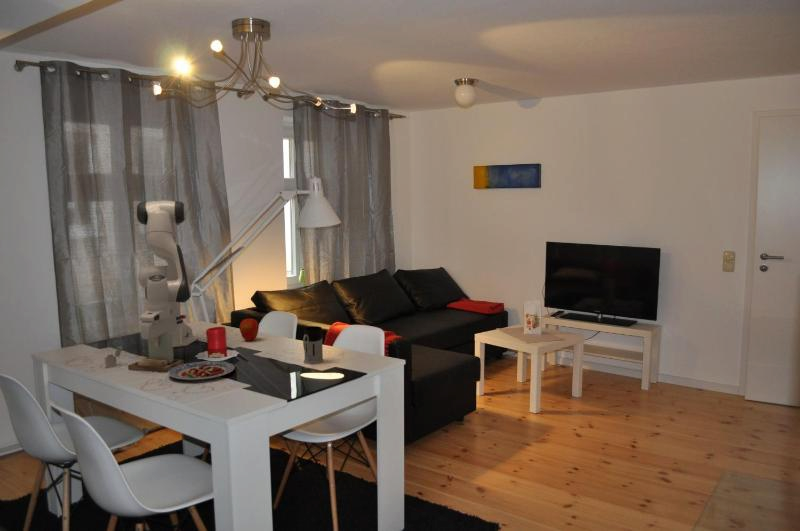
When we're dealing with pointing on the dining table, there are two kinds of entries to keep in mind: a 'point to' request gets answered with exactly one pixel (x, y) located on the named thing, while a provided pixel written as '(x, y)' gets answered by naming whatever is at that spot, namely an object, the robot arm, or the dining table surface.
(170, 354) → the grey-green rectangular block
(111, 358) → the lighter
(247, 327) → the apple
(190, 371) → the ceramic plate
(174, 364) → the walnut rack
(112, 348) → the dining table surface
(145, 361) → the offcut stack
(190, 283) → the robot arm
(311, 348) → the glass holder
